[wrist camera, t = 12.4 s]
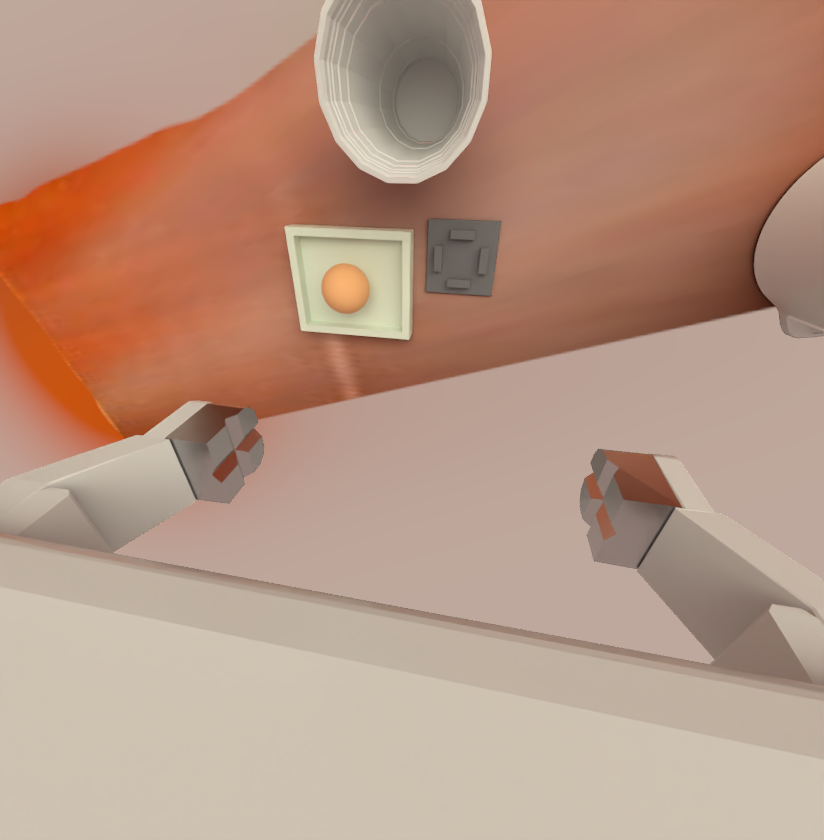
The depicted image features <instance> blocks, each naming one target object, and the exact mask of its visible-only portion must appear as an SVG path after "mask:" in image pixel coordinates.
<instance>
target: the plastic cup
mask: <svg viewBox="0 0 824 840" xmlns="http://www.w3.org/2000/svg"><path fill="white" fill-rule="evenodd" d="M491 56H492V51H491V46H490V41H489V36H488V31H487V26H486V21H485V17H484V12H483V7H482V2H481V0H326V1H325V4H324V6H323V7H322V9H321V15H320V22H319V28H318V34H317V40H316V47H315V53H314V63H315V72H316V80H317V88H318V96H319V104H320V106H321V108H322V111H323V113H324V116H325V118H326V120H327V123H328V125H329V127H330V130H331V132H332V135H333V137H334V139H335V142H336V143H337V144H338V145H339V146H340V147H341V149H342V150H343V151H344V152H345V153H346V154H347V155H348V157H349V158H350V159H351V160H352V161H353V162H354V163H355V165H356V166H357V167H358V168H359V169H361V170H363V171H364V172H366V173H368V174H370V175H372V176H374V177H376V178H378V179H380V180H382V181H384V182H386V183H411V184H417V183H419V182H422V181H424V180H426V179H428V178H430V177H432V176H434V175H436V174H438V173H440V172H443V171H445V170H446V169H447V168H448V167H449V166H450V165H451V164H452V162H453V161H454V160H455V159H456V158H457V157H458V156H459V155H460V153H461V152H462V151H463V150H464V149H465V148H466V147H467V145H468V144H469V143H470V142H471V140H472V137H473V135H474V132H475V130H476V128H477V125H478V123H479V120H480V118H481V115H482V113H483V111H484V108H485V106H486V103H487V98H488V88H489V77H490V67H491Z"/></svg>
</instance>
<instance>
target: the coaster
mask: <svg viewBox="0 0 824 840" xmlns="http://www.w3.org/2000/svg"><path fill="white" fill-rule="evenodd" d="M500 226H501V221H481V220H455V219H429V225H428V252H427V279H426V292H440V293H455V294H470V295H485V296H491V293H492V285H493V278H494V271H495V263H496V256H497V248H498V241H499V234H500Z"/></svg>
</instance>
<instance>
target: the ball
mask: <svg viewBox="0 0 824 840" xmlns="http://www.w3.org/2000/svg"><path fill="white" fill-rule="evenodd" d="M321 290H322V295H323V298H324V300H325V301H326V303H327V304H328V305H329V306H330V307H331V308H332V309H333V310H335V311H337V312H339V313H343V314H351V313H355V312H357V311H359V310H360V309H361V308H363V306H364V305H365V304H366V302H367V300H368V298H369V293H370V287H369V282H368V279H367V277H366V276H365V274H364V273H363V272H362V271H361V270H360V269H359V268H358V267H356V266H354V265H352V264H347V263H341V264H337V265H334V266H332V267H331V268H330V269H329V270H328V271H327V272H326V273H325V275H324V277H323V280H322V285H321Z"/></svg>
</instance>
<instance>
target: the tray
mask: <svg viewBox="0 0 824 840" xmlns="http://www.w3.org/2000/svg"><path fill="white" fill-rule="evenodd" d="M285 233H286V239H287V245H288V251H289V258H290V264H291V270H292V276H293V283H294V289H295V295H296V301H297V308H298V314H299V320H300V326H301V331H311V332H322V333H334V334H346V335H358V336H370V337H382V338H394V339H406V340H409V339H410V337H411V335H412V318H413V260H414V229H398V228H374V227H351V226H327V225H303V224H292V225H288V226H285ZM341 263H347V264H352V265H354V266H356V267H358V268H359V269H360V270H361V271H362V272H363V273H364V274H365V276H366V277H367V279H368V282H369V287H370V293H369V298H368V300H367V302H366V304H365V305H364V306H363V308H361V309H360V310H359V311H357V312H355V313H351V314H343V313H339V312H337V311H335V310H333V309H332V308H331V307H330V306H329V305H328V304H327V303H326V301H325V300H324V298H323V295H322V290H321V285H322V280H323V277H324V275H325V273H326V272H327V271H328V270H329V269H330V268H331V267H332V266H334V265H337V264H341Z"/></svg>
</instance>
